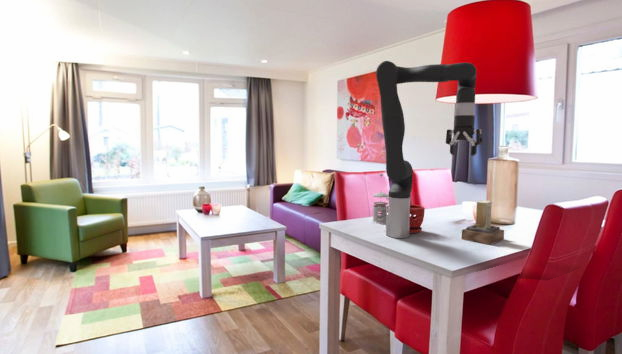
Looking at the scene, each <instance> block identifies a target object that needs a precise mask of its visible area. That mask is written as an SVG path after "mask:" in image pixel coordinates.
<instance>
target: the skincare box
mask: <svg viewBox="0 0 622 354" xmlns="http://www.w3.org/2000/svg"><path fill="white" fill-rule="evenodd" d="M475 215H476V217H475V224H476V228H477V229H483V230H489V229H491V226H492V225H491V224H492V200H483V199H482V200H479V201H476V214H475Z"/></svg>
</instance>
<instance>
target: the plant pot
mask: <svg viewBox="0 0 622 354" xmlns="http://www.w3.org/2000/svg"><path fill="white" fill-rule="evenodd" d="M425 212H426V211H425V206H424V205H423V206H422V205H419V204H410V229H409V234H417V233H420V232H421V231H422V230H423V227H421V226H422V224H423V222H424V219H425Z"/></svg>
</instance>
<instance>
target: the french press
mask: <svg viewBox="0 0 622 354" xmlns="http://www.w3.org/2000/svg"><path fill="white" fill-rule="evenodd" d="M383 176H384V174H383V173H379V177H383ZM372 196H373V197H374V198H385V199H387V200H388V199H389V193H386V192H382V191H379V192H375V193H374V194H373V195H372ZM373 203H374V205H372V207H373V208H372V219H371V221H373V222H376V223H375V224H379V223H385V224H386V214H387V213H388V202H386V201H376V202H373ZM373 222H372V223H373Z"/></svg>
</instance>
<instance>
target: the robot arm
mask: <svg viewBox="0 0 622 354" xmlns="http://www.w3.org/2000/svg"><path fill="white" fill-rule="evenodd" d="M375 70H376V71H375V77H376V82H377V85H378V86H377V87H378V90H379V96H380V110H381V111H380V113H381V122H382V130H383V131H382V132H383V137H384V138H383V140H384V147H385V172H386V176H387V177H388V180H390V181H391V187H390V188H389V189H388V195H389V197H388V198H389V199H388V198H387V201H388V202H387V203H388V204H387V206H388V213H387V212H386V213H387V214H386V223H385V235H386V236H388V237H391V238H394V239H406V238H410V233H409V229H410V216H411V214H410V205H411V193H412V189H413V174H414V172H413V171H414V170H413V169H414V168H413V167H412V164H411V163H410V161H408V160H405V158H404V152H403V143H404V139H405V138H404V137H405V133H406V132H405V130H406V125H405V115H404V111H403V107H402V103H401V100H400V98H399V94H398V85H400V84H404V83H405V84H408V83H447V82H451V81H453V82H454V81H455V82H457V90H456V91H457V92H456V94H455V95H456V97H455V98H456V99H455V106H454V107H455V108H454V125H453V126H454V128H453V129H449V128H448V129H446V134H445V135H446V136H445V144H447V145H448V146H449V153H450V154H451V155H453V156H454V155H455V154H456V145H457V143H458V142H459V141H468V142H469V143H470V144H471V147H470V155H471V156H476V155H477V153H478V152H477V150H478V146H480V145H483V129H480V128H479V129H478V128H477V129H475V120H476V85H477V84H476V83H477V67H476V66H475V64H473V63H471V62H457V63H450V64H446V63H445V64H442V63H440V64H426V65H425V64H424V65H421V66H415V67H412V66H411V67H403V66H397V65H396V64H395V63H394V62H392V61H389V60H384V61H382V62H380V63H379V64H378V65H377V67H376V69H375ZM453 134H454V136H453ZM474 134H475V135H476V137H474V136H473V135H474ZM452 136H453V137H452Z"/></svg>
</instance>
